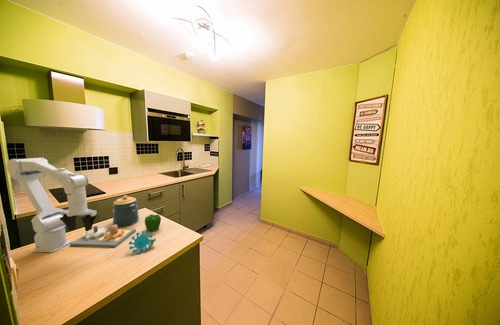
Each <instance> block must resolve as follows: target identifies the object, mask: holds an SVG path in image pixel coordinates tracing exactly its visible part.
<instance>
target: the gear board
mask: <svg viewBox="0 0 500 325" xmlns="http://www.w3.org/2000/svg"><path fill="white" fill-rule="evenodd" d="M119 229H121V230H124V233H123V236H119V237H117V238H116V239H110V240H106V239H104V235H106V233H107V232H110V228H108V227H107V228H106V226H102V227H98V225H93V226H92V229H91V230H89V231H85V233H84V234H82V236H81V237H79V238H77V239H75V240H74V241H72V242H71V243H69V244H70V245H69V246H70V247H71V246H72V247H96V248H97V247H98V248H117V247H118V246H119V245H121V244H122V243H123V242H124V241H125V240H127V239H128V238H129V237H131V236H132V235H134V233H135V232H136V233H137V231H136V230H137V229H134V228H133V229H132V228H118V230H119Z"/></svg>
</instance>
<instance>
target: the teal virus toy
mask: <svg viewBox="0 0 500 325" xmlns="http://www.w3.org/2000/svg"><path fill="white" fill-rule="evenodd" d="M150 233H151V231H147V232H146V231H145V230H142V231H141V233H140V232H136V233H135V235H136V237H135V235H133V236H132V237H131V236H130V237H131V240H133V241H134V242H133V241H129V242H128V245H130V246H129V248H128V249H129V250H132V253H133V254H135V253H137V254H142V250H143V252H147V251H148V249H147V245H148V248H151V247H152V244H154V243H155V242H156V241H157V238H153V234H150ZM131 245H134V246H131ZM135 248H136V249H135ZM143 248H144V249H143ZM137 250H138V251H137Z"/></svg>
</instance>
